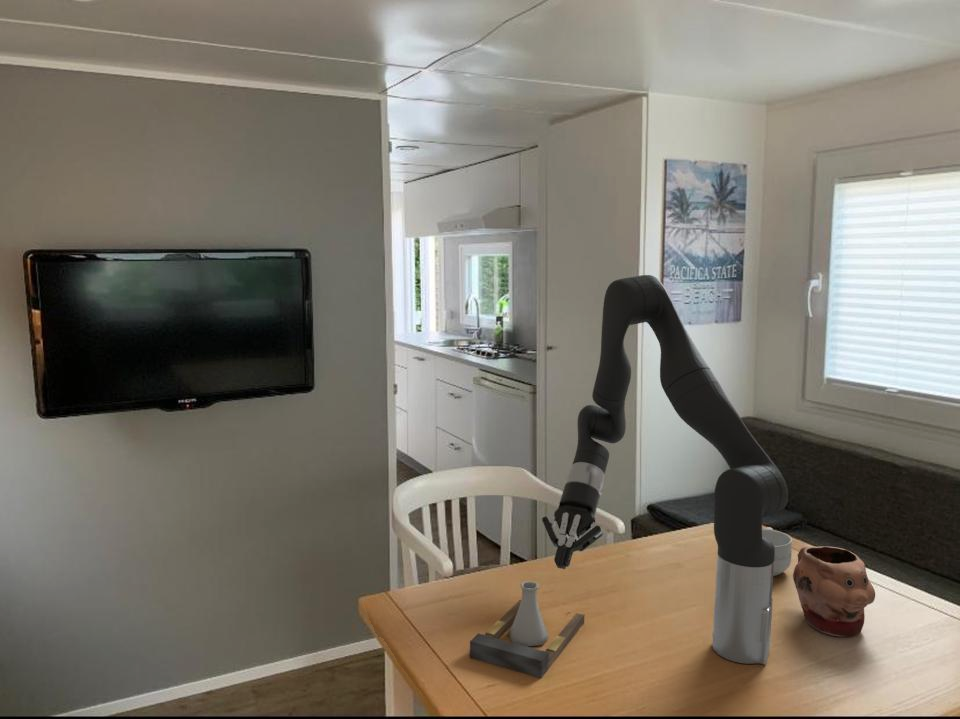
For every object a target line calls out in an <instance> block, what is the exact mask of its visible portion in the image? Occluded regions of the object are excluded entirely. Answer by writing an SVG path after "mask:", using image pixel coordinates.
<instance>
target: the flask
mask: <svg viewBox="0 0 960 719" xmlns="http://www.w3.org/2000/svg"><path fill="white" fill-rule="evenodd" d="M520 588H521V599H520V600H521V603H520V606H519V609H518V612H517V615H516V617H515V620H514V622H513V625H512V626H511V627H510V630H509V632H508V636H509V638H510V642H512V643H516V644H520V645H523V646H527V647H533V646H543V645H544V644H545V643H546V642H547V641H548V639H549V637H550V636H549V634H548V630H547V628H546V626H545V622H544V620H543V618H542V617H543V616H542V613H541V610H540V607H539V601H538V596H537V595H538V593H537V592H538V589H539V584H538V582H536V581H530V580H527V581H522V582H521V584H520Z"/></svg>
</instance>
